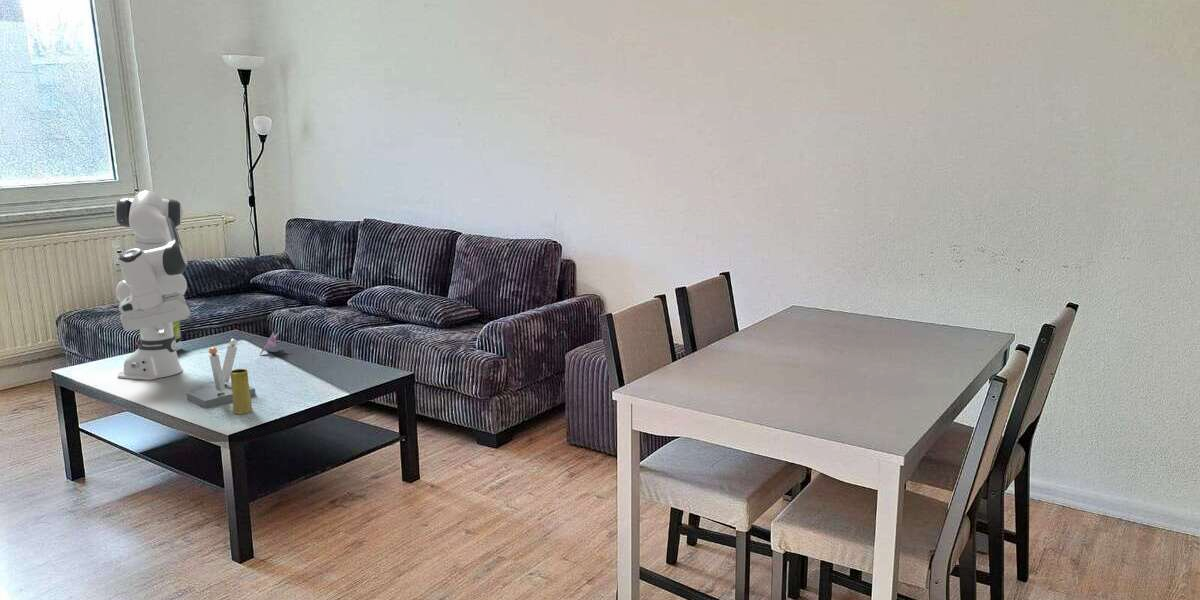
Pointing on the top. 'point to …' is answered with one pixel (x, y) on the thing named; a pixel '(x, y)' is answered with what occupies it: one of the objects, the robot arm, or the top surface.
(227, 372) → the switch
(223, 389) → the switch
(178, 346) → the tea box
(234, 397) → the vase
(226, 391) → the console
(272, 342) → the lily
